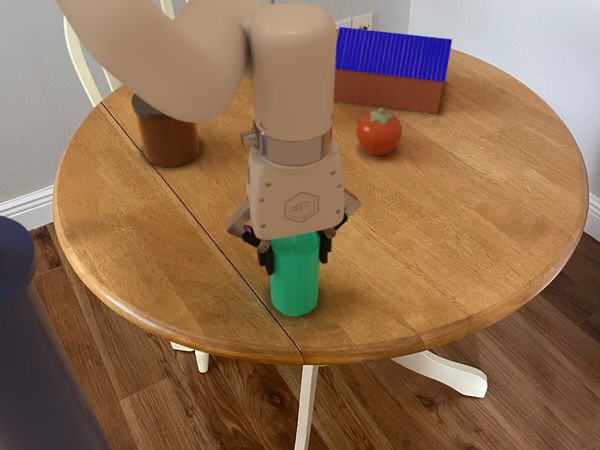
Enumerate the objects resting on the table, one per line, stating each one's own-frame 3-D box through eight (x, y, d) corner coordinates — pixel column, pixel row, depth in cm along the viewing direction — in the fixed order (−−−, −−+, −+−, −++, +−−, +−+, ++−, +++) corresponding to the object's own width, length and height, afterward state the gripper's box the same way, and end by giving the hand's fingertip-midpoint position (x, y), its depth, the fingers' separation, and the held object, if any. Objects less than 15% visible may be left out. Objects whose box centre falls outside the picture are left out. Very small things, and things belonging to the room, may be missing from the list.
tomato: (389, 133, 101) (394, 93, 96) (406, 158, 96) (412, 117, 91) (348, 140, 100) (351, 99, 94) (363, 166, 95) (367, 124, 89)
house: (438, 114, 106) (450, 55, 98) (330, 100, 109) (332, 41, 101) (443, 82, 114) (454, 24, 106) (342, 69, 118) (345, 13, 110)
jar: (146, 173, 93) (133, 118, 86) (140, 139, 100) (128, 86, 93) (205, 163, 95) (198, 108, 88) (196, 130, 102) (189, 78, 95)
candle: (262, 293, 75) (258, 225, 67) (300, 273, 78) (300, 205, 69) (288, 324, 72) (287, 256, 63) (327, 302, 74) (331, 234, 66)
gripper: (214, 173, 53) (229, 300, 66) (389, 143, 57) (373, 268, 69) (200, 128, 58) (217, 253, 71) (362, 103, 62) (351, 226, 74)
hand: (294, 260), depth 70 cm, fingers closed on candle, 5 cm apart
